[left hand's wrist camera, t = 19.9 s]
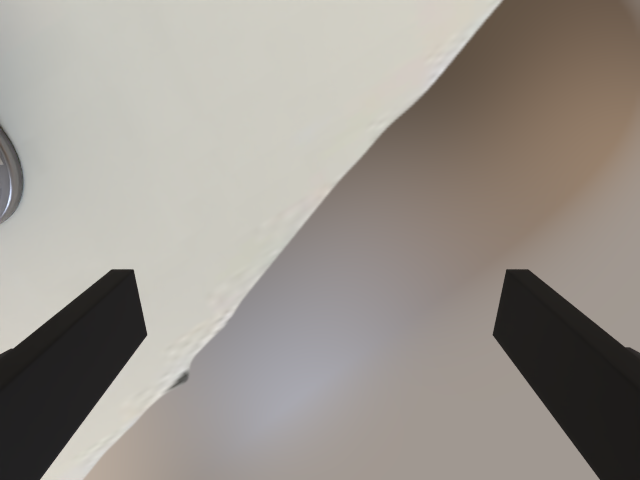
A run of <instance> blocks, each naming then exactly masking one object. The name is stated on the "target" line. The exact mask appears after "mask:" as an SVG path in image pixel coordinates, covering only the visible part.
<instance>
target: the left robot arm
mask: <svg viewBox="0 0 640 480" xmlns="http://www.w3.org/2000/svg"><path fill="white" fill-rule="evenodd" d="M22 189H23V177H22V170H21V166H20V162H19V159H18V157H17V154H16V152H15V150H14V148H13V146H12V144H11V142H10V141H9V139H8V137H7V136H6V134H5V133H4V132H3V130H2V129H1V128H0V224H1V223H2V222H4V221H5V220H7V219H8V218H9V217H10V216H11V215H12V214H13V213H14V211H15V210H16V208H17V206H18V204H19V202H20V199H21V195H22ZM146 336H147V331H146V326H145V322H144V317H143V312H142V307H141V303H140V298H139V293H138V288H137V284H136V279H135V274H134V269H112V270H111V271H109V272H108V273H107V274H106V275H104V276H103V277H102V278H101V279H99V280H98V281H97V282H96V283H94V284H93V285H92V286H91V287H89V288H88V289H87V290H86V291H84V292H83V293H82V294H81V295H79V296H78V297H77V298H76V299H74V300H73V301H72V302H71V303H69V304H68V305H67V306H66V307H65V308H63V309H62V310H61V311H60V312H58V313H57V314H56V315H55V316H53V317H52V318H51V319H50V320H48V321H47V322H46V323H45V324H43V325H42V326H41V327H40V328H38V329H37V330H36V331H35V332H33V333H32V334H31V335H30V336H28V337H27V338H26V339H25V340H23V341H22V342H21V343H20V344H18V345H17V346H16V347H15V348H14V349H9V350H8V351H6V352H4V353H2V354H0V480H40V479H41V478H42V476H43V475H44V474H45V472H46V471H47V470H48V468H49V467H50V465H51V464H52V463H53V461H54V460H55V459H56V457H57V456H58V455H59V453H60V452H61V451H62V449H63V448H64V447H65V445H66V444H67V443H68V441H69V440H70V439H71V437H72V436H73V434H74V433H75V432H76V430H77V429H78V428H79V426H80V425H81V424H82V422H83V421H84V420H85V418H86V417H87V416H88V414H89V413H90V412H91V410H92V409H93V407H94V406H95V405H96V403H97V402H98V401H99V399H100V398H101V397H102V395H103V394H104V393H105V391H106V390H107V389H108V387H109V386H110V385H111V383H112V382H113V381H114V379H115V378H116V376H117V375H118V374H119V372H120V371H121V370H122V368H123V367H124V366H125V364H126V363H127V362H128V360H129V359H130V358H131V356H132V355H133V354H134V352H135V351H136V350H137V348H138V347H139V345H140V344H141V343H142V341H143V340H144V339H145V337H146ZM493 336H494V337H495V339H496V340H497V341H498V343H499V344H500V345H501V347H502V348H503V350H504V351H505V352H506V354H507V355H508V356H509V358H510V359H511V360H512V362H513V363H514V364H515V366H516V367H517V368H518V370H519V371H520V372H521V374H522V375H523V376H524V378H525V379H526V381H527V382H528V383H529V385H530V386H531V387H532V389H533V390H534V391H535V393H536V394H537V395H538V397H539V398H540V399H541V401H542V402H543V403H544V405H545V406H546V407H547V409H548V410H549V411H550V413H551V414H552V416H553V417H554V418H555V420H556V421H557V422H558V424H559V425H560V426H561V428H562V429H563V430H564V432H565V433H566V434H567V436H568V437H569V438H570V440H571V441H572V443H573V444H574V445H575V447H576V448H577V449H578V451H579V452H580V453H581V455H582V456H583V457H584V459H585V460H586V461H587V463H588V464H589V465H590V467H591V468H592V470H593V471H594V472H595V474H596V475H597V476H598V478H599V479H600V480H640V353H639V352H637V351H635V350H633V349H631V348H628V347H624V346H623V345H621V344H620V343H619V342H618V341H617V340H615V339H614V338H613V337H612V336H610V335H609V334H608V333H607V332H605V331H604V330H603V329H602V328H600V327H599V326H598V325H597V324H595V323H594V322H593V321H592V320H590V319H589V318H588V317H587V316H585V315H584V314H583V313H582V312H580V311H579V310H578V309H577V308H575V307H574V306H573V305H572V304H571V303H569V302H568V301H567V300H566V299H564V298H563V297H562V296H561V295H559V294H558V293H557V292H556V291H554V290H553V289H552V288H551V287H549V286H548V285H547V284H546V283H544V282H543V281H542V280H541V279H539V278H538V277H537V276H536V275H534V274H533V273H532V272H531V271H529V270H528V269H527V270H526V269H525V270H523V269H522V270H521V269H520V270H519V269H518V270H517V269H509V270H508V269H507V270H506V274H505V279H504V284H503V288H502V293H501V298H500V303H499V308H498V312H497V317H496V322H495V326H494V331H493Z"/></svg>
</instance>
